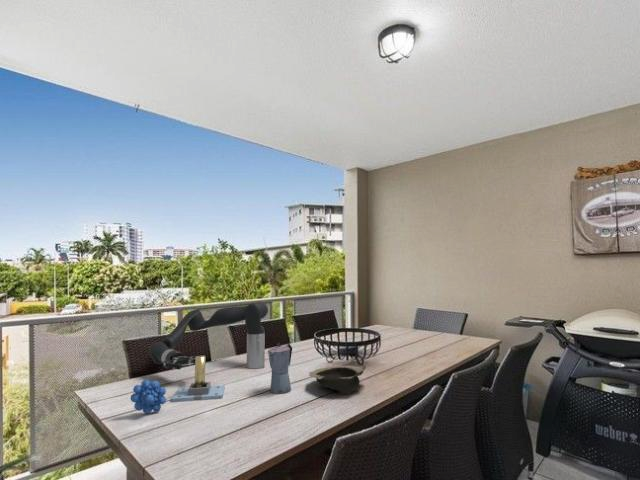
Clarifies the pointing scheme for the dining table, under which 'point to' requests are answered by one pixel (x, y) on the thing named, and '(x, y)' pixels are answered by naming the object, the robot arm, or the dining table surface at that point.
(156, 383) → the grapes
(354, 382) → the stone bowl
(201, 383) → the pin
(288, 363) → the moka pot
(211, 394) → the square socket mounting plate
